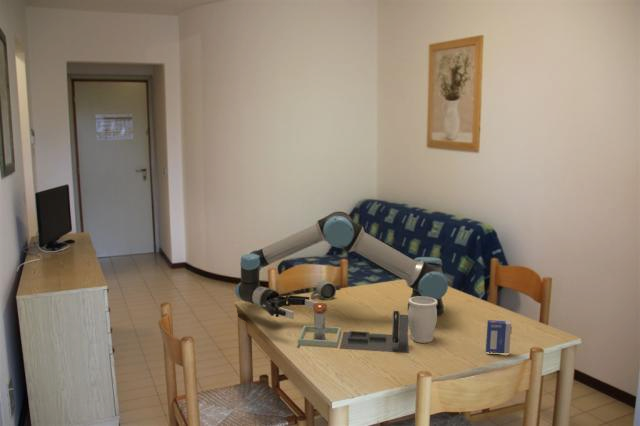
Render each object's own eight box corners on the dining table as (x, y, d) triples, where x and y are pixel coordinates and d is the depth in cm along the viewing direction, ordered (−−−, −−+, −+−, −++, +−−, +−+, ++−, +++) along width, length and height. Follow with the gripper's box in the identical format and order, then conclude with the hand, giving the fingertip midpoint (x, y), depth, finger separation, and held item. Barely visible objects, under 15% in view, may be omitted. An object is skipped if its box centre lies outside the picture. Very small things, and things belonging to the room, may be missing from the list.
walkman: (486, 354, 202) (488, 321, 200) (485, 351, 204) (487, 318, 202) (510, 356, 200) (512, 323, 198) (508, 353, 203) (511, 320, 201)
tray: (340, 335, 218) (340, 327, 217) (336, 349, 204) (337, 341, 203) (303, 332, 219) (303, 325, 219) (297, 347, 206) (297, 339, 205)
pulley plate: (407, 338, 215) (409, 303, 213) (408, 355, 200) (410, 318, 198) (343, 334, 219) (344, 299, 216) (339, 351, 203) (340, 314, 201)
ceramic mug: (330, 293, 267) (329, 277, 266) (336, 299, 260) (336, 282, 258) (308, 296, 264) (308, 280, 263) (313, 301, 256) (313, 285, 255)
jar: (418, 346, 208) (420, 306, 205) (401, 336, 217) (402, 298, 214) (441, 341, 213) (443, 302, 210) (424, 332, 222) (426, 294, 219)
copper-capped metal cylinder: (326, 336, 214) (327, 303, 211) (325, 341, 209) (325, 307, 207) (313, 336, 214) (314, 302, 212) (312, 341, 210) (312, 306, 207)
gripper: (288, 300, 238) (327, 312, 224) (242, 315, 220) (281, 329, 206) (289, 282, 237) (328, 293, 223) (242, 296, 219) (281, 309, 205)
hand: (305, 311), depth 214 cm, fingers open, 13 cm apart
